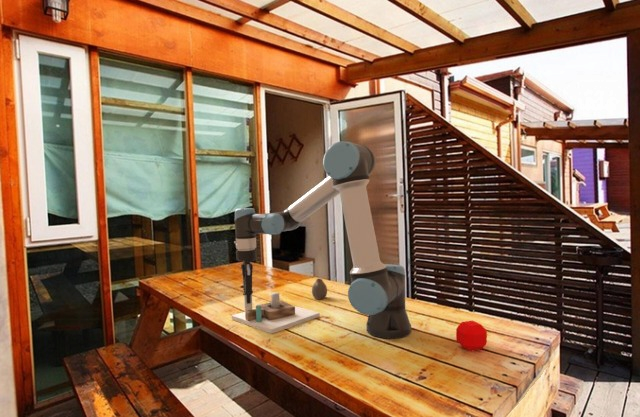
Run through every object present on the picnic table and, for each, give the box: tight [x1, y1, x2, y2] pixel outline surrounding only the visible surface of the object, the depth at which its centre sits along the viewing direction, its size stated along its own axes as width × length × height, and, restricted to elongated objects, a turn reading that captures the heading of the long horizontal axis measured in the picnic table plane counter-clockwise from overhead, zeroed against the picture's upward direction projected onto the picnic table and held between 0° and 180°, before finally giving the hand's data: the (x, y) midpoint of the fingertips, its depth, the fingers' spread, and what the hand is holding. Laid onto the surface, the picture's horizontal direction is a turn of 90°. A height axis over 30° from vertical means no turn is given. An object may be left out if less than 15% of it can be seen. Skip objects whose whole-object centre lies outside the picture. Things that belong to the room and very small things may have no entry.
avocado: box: [311, 278, 328, 300], centre depth 179 cm, size 7×7×9 cm
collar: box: [244, 300, 295, 321], centre depth 151 cm, size 18×11×3 cm, turn 123°
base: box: [231, 292, 321, 334], centre depth 152 cm, size 24×24×10 cm
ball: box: [455, 320, 488, 352], centre depth 120 cm, size 8×8×8 cm
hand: (248, 311), depth 149 cm, fingers closed
